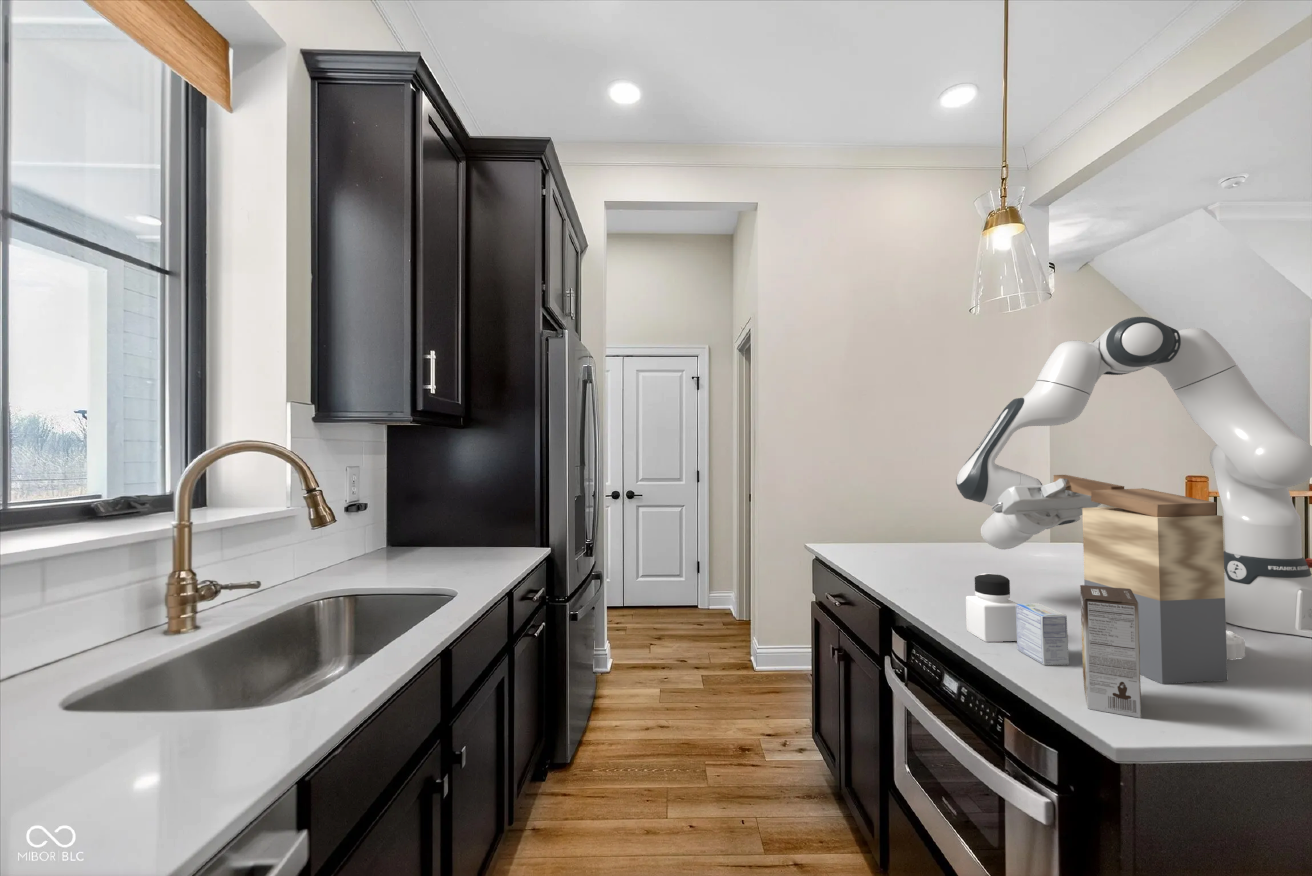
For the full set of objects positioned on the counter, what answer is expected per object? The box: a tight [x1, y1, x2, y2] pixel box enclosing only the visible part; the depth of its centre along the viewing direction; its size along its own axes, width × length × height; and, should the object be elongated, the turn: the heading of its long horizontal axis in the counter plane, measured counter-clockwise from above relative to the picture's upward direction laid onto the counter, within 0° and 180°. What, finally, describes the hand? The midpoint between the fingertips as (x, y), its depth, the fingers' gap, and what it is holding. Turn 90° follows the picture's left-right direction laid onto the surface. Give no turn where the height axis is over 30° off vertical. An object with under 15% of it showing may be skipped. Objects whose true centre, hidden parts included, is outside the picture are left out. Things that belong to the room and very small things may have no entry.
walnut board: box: [1052, 474, 1217, 517], centre depth 108 cm, size 10×27×2 cm, turn 4°
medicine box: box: [1016, 602, 1070, 666], centre depth 105 cm, size 8×4×9 cm, turn 179°
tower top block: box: [1082, 506, 1225, 601], centre depth 101 cm, size 11×15×13 cm
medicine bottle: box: [965, 573, 1019, 643], centre depth 117 cm, size 7×7×12 cm
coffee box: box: [1080, 584, 1142, 719], centre depth 87 cm, size 9×6×16 cm
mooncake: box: [1226, 629, 1246, 661], centre depth 109 cm, size 12×12×4 cm
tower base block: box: [1083, 578, 1228, 685], centre depth 101 cm, size 11×15×13 cm
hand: (1075, 481), depth 117 cm, fingers closed on walnut board, 2 cm apart
